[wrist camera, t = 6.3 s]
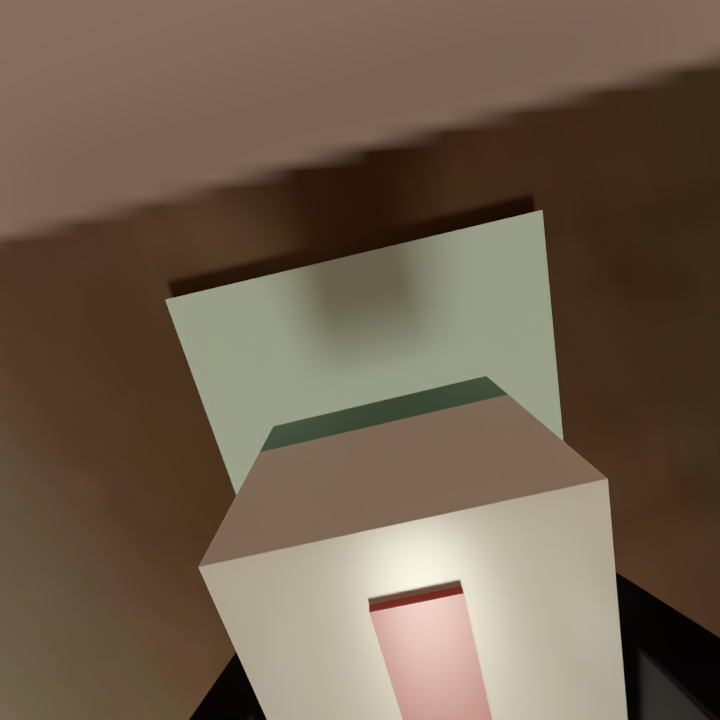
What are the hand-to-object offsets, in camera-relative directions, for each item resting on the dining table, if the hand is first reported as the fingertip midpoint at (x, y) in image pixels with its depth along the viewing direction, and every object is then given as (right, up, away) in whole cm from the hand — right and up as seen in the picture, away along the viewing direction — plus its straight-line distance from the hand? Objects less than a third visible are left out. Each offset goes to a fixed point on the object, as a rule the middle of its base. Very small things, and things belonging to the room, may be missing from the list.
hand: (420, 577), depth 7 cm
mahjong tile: (0, 0, +1) cm, 2 cm away
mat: (0, +2, +9) cm, 9 cm away
